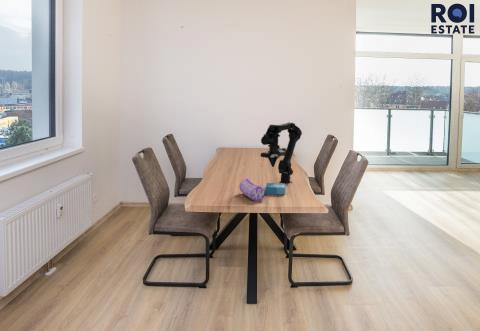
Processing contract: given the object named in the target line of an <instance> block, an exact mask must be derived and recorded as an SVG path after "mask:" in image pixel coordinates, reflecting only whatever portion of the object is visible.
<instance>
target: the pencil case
mask: <svg viewBox="0 0 480 331" xmlns="http://www.w3.org/2000/svg"><path fill="white" fill-rule="evenodd" d="M238 187H239V190H240V192H241V193H242V194H243V195H245V196H246V197H248V198H249V199H251V200H253V201H254V202H260V201H262V200H264V199H265V197H267V195H266V193H265V191H264V189H263V188H264V187H263V186H260V185H256V184H254V183H253V182H252V181H251V180H250V179H249V178H244V179H242V180H241V181H240V184H239V186H238Z"/></svg>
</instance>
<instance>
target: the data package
mask: <svg viewBox="0 0 480 331" xmlns="http://www.w3.org/2000/svg"><path fill="white" fill-rule="evenodd" d="M265 188H266V194H272V195H278V196H279V195H282V196H283V195H286V183H281V182H277V183H274V182H266V185H265Z"/></svg>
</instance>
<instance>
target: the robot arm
mask: <svg viewBox="0 0 480 331" xmlns="http://www.w3.org/2000/svg"><path fill="white" fill-rule="evenodd" d="M286 130H287V132H288V138H289V140H288V144H287V147H282V148H281V147H280V145H279V137H281V135H280V133H282V131H286ZM302 134H303V132H302V130H301V129H300V127H299V126H297V125H296V123H295V122H285V123H282V124H269V126H268V127H267V130H266V132H265V133H264V134H263V136H262V137H261V139H260V143H261V144H262V145H263V146H266V145H267V147H269V149H268V150H269V151H264V152H261V153H260V157H261V158H265V159H266V158H267V159H268V161H269V163H270V165H271V167H272V168H274V167H275V165H276V163H277V161H278V159H279V158H280V157H283V159H280V160H279V162H278V166H277V169H278V173H279V174H280V181H278V183H282V184H291V183H292V181H291V176H292V175H294V170H293V168H292V163H291V160H292V156H293V154H294V150H295V147H296V144H297V142H298V141H299V140H300V139H301V136H302Z"/></svg>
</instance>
